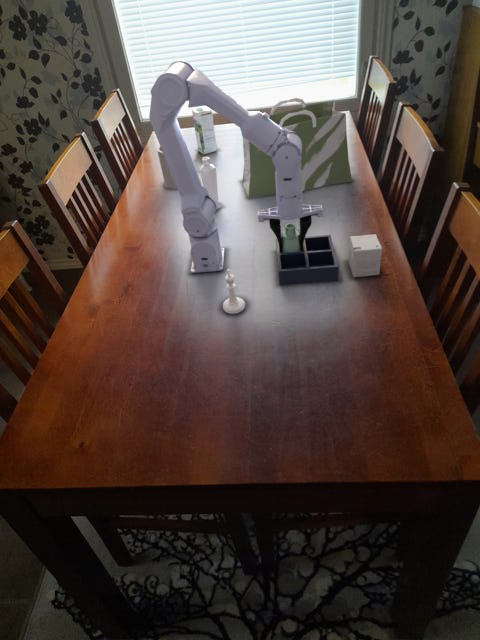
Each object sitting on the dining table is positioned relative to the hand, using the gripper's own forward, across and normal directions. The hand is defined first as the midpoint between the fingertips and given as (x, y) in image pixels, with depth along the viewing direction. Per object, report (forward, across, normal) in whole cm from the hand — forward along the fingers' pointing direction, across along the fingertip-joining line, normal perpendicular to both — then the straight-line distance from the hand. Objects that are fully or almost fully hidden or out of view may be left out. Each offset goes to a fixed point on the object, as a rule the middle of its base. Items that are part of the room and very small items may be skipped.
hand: (291, 244), depth 108 cm
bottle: (+2, 0, 0) cm, 2 cm away
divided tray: (+4, -3, +3) cm, 6 cm away
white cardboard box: (+4, -16, +6) cm, 18 cm away
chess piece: (+4, +14, +16) cm, 22 cm away
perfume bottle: (+4, +21, -30) cm, 37 cm away
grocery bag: (+4, -4, -42) cm, 42 cm away
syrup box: (+4, +26, -74) cm, 78 cm away
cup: (+4, +34, -49) cm, 60 cm away
